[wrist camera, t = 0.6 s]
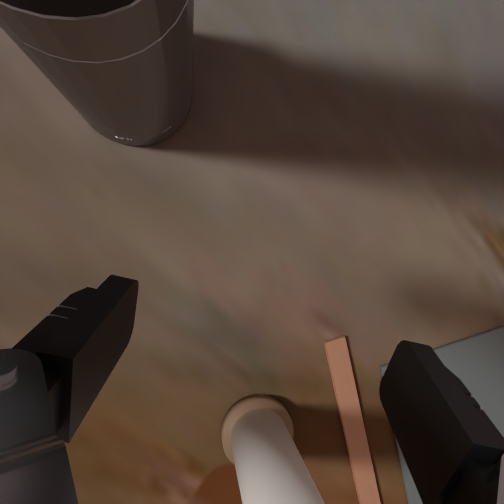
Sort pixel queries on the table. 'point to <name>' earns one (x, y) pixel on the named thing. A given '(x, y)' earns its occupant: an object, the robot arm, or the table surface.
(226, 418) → the skittle
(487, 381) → the mat
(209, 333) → the table surface
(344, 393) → the distance line
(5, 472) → the robot arm
